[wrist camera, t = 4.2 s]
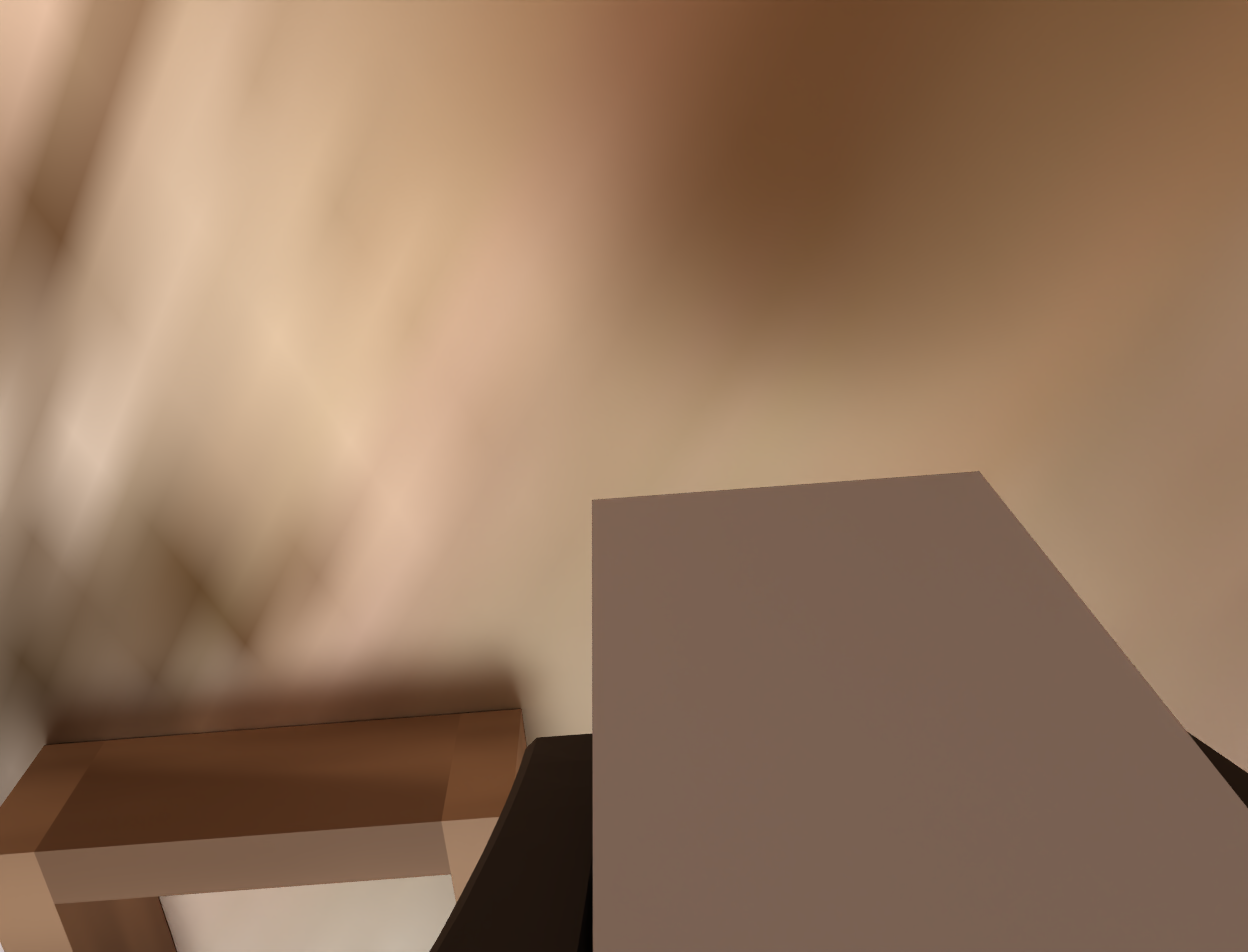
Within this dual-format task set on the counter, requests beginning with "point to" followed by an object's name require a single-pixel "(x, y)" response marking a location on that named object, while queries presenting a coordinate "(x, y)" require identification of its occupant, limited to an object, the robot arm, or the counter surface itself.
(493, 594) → the counter surface
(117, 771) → the frame
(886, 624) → the slate peg
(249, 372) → the counter surface
